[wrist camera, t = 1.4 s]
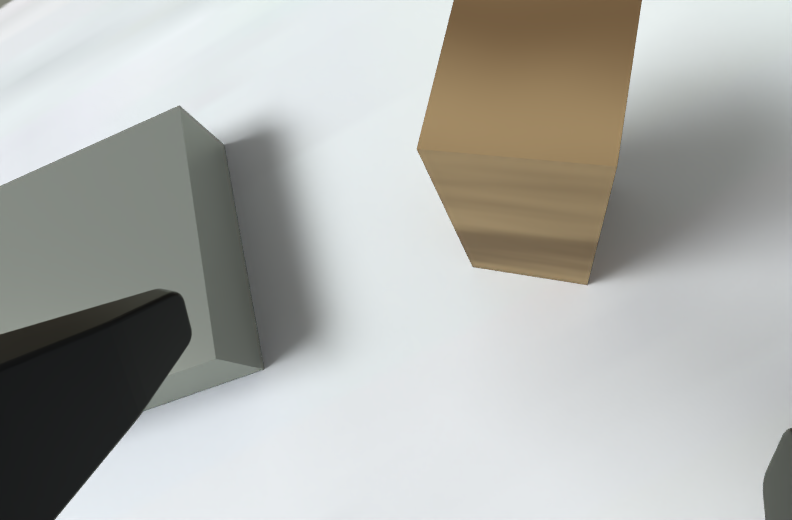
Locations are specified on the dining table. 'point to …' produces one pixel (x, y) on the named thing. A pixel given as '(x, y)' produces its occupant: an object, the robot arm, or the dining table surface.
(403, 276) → the dining table surface
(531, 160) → the bronze block
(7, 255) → the gray box
